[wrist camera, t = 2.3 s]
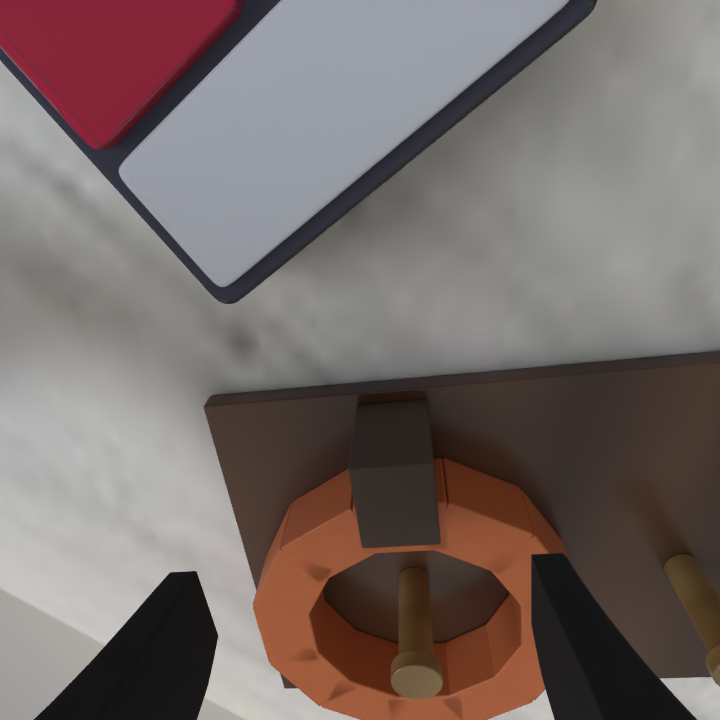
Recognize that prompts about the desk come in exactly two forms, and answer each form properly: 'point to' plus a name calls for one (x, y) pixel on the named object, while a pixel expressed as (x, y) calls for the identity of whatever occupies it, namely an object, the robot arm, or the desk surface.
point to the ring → (402, 534)
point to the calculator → (264, 105)
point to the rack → (537, 480)
